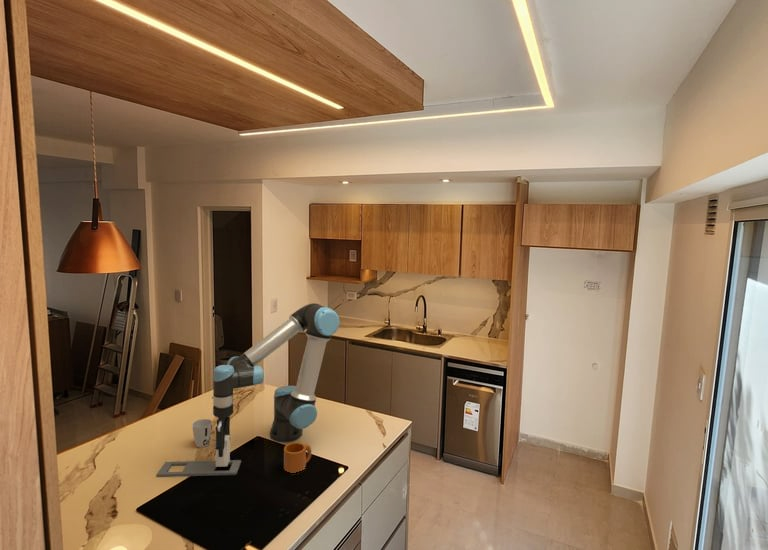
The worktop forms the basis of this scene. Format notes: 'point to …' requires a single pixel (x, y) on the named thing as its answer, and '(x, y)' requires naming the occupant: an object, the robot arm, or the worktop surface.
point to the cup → (202, 432)
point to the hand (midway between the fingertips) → (222, 459)
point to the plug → (227, 452)
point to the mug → (296, 457)
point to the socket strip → (197, 468)
